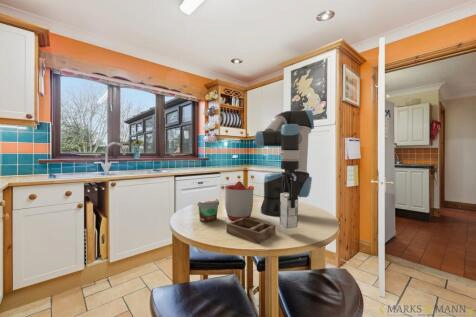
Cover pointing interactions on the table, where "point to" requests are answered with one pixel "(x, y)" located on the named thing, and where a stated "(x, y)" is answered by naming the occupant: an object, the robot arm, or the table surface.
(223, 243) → the table surface
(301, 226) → the table surface
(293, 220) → the syrup box
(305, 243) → the table surface
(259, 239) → the socket block
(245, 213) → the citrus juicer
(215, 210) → the food container
